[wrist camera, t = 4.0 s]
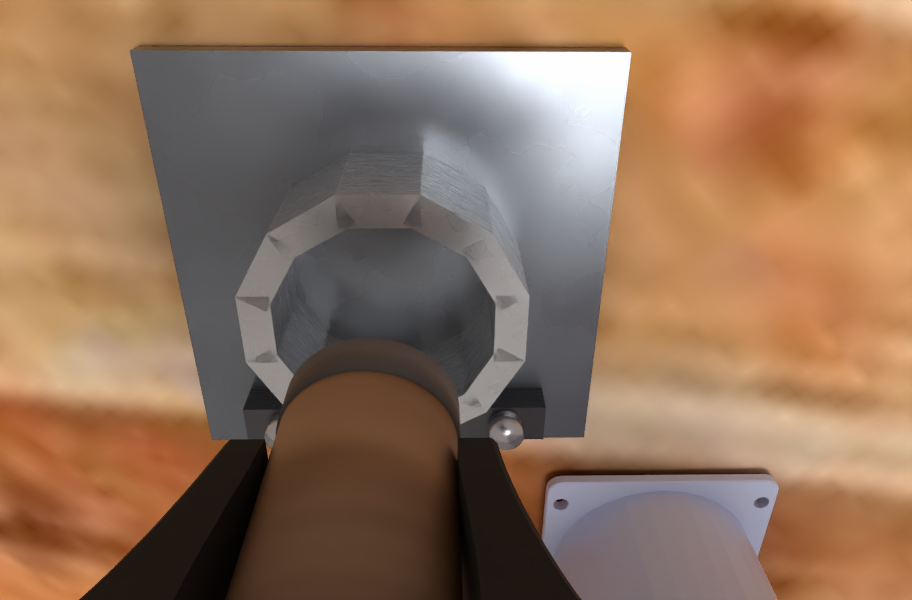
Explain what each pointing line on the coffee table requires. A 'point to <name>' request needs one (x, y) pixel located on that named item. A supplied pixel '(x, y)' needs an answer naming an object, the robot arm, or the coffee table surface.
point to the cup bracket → (390, 217)
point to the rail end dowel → (359, 483)
